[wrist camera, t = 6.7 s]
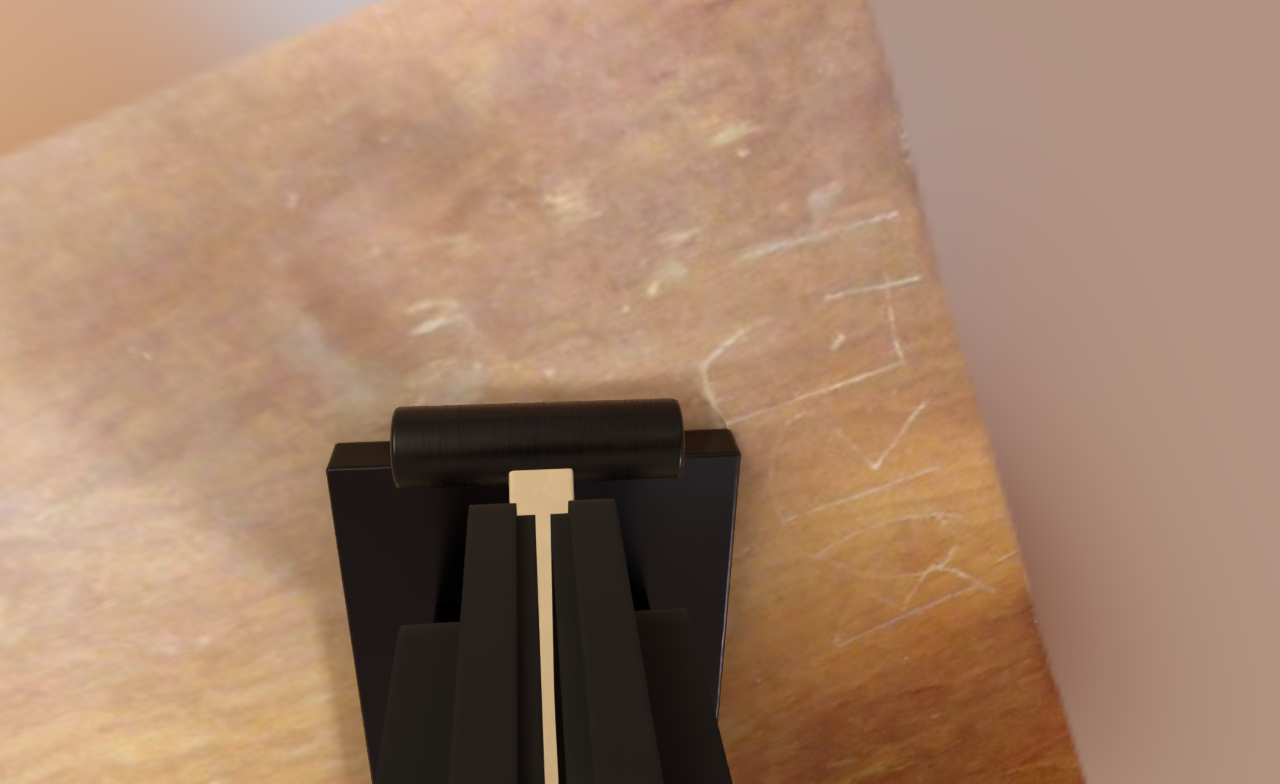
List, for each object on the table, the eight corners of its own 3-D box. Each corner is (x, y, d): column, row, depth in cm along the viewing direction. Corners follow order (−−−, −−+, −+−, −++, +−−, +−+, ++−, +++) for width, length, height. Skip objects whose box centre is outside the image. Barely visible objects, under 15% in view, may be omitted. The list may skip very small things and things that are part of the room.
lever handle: (405, 416, 17) (383, 396, 15) (667, 407, 18) (687, 387, 15) (410, 1134, 15) (388, 1242, 13) (705, 1097, 16) (735, 1194, 14)
